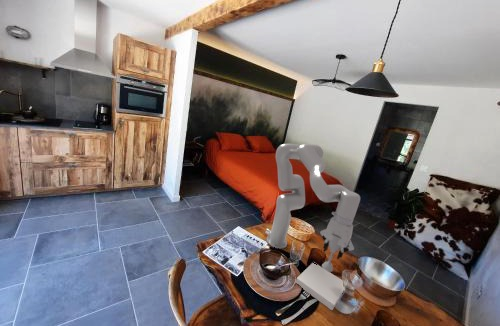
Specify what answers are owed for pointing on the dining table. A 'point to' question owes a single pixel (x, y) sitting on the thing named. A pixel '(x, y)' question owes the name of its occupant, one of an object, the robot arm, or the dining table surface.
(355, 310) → the dining table surface
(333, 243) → the chalice
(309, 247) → the dining table surface
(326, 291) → the plinth
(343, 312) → the dining table surface
